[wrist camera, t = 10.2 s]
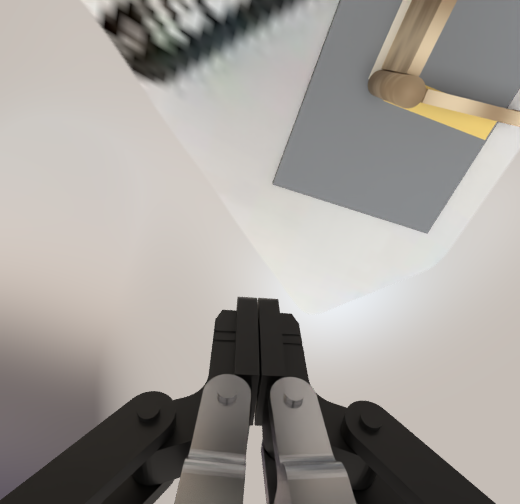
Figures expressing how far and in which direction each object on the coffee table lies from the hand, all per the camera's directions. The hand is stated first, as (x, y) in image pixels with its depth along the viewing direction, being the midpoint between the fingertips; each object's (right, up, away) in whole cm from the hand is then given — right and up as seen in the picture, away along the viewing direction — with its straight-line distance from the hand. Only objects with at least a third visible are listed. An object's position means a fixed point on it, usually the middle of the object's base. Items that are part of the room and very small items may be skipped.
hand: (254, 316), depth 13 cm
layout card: (+15, +19, +19) cm, 30 cm away
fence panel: (+19, +16, +20) cm, 31 cm away
